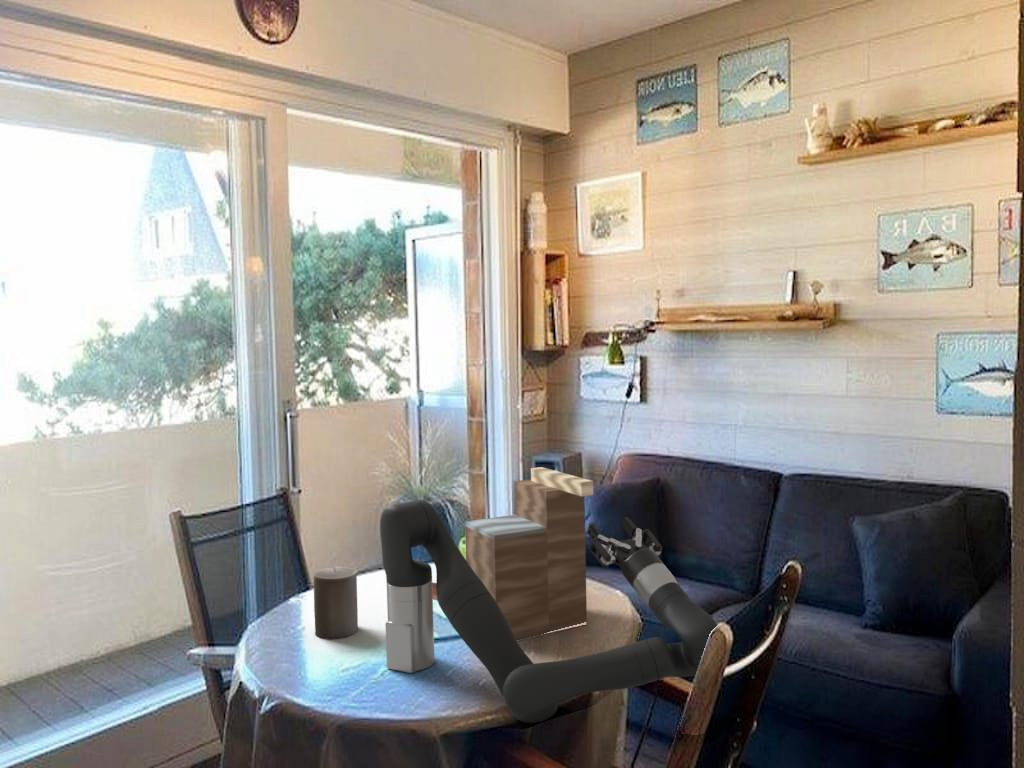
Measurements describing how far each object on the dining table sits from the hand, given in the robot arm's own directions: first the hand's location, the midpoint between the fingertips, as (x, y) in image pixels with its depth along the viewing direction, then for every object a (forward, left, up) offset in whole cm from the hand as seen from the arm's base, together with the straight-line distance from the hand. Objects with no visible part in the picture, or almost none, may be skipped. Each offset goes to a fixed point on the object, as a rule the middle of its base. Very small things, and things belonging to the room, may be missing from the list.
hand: (607, 523), depth 167 cm
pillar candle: (-13, +61, -28) cm, 68 cm away
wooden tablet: (+19, +50, -28) cm, 60 cm away
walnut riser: (+8, +23, -27) cm, 37 cm away
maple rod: (+10, +15, +5) cm, 19 cm away
